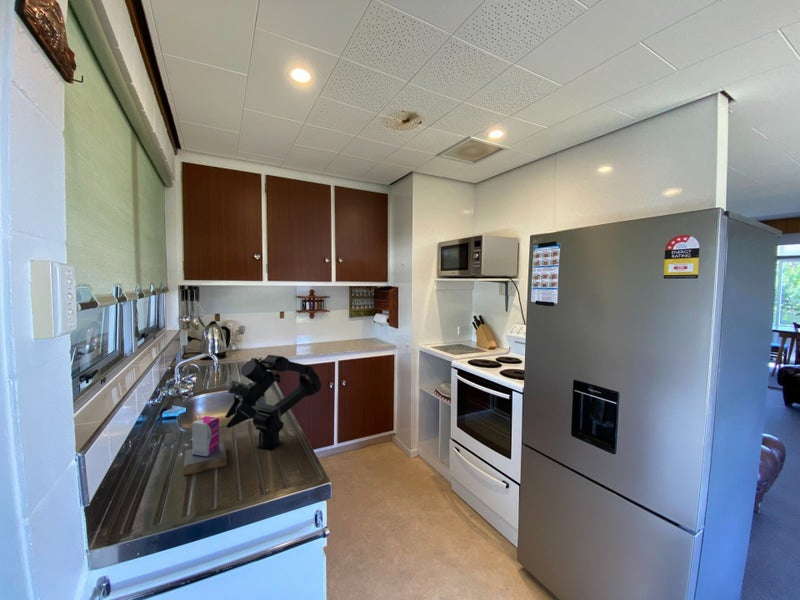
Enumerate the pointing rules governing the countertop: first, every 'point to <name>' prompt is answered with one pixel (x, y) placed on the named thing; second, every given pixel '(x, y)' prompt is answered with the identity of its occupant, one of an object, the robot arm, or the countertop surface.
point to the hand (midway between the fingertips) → (226, 422)
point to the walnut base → (204, 460)
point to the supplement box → (205, 436)
